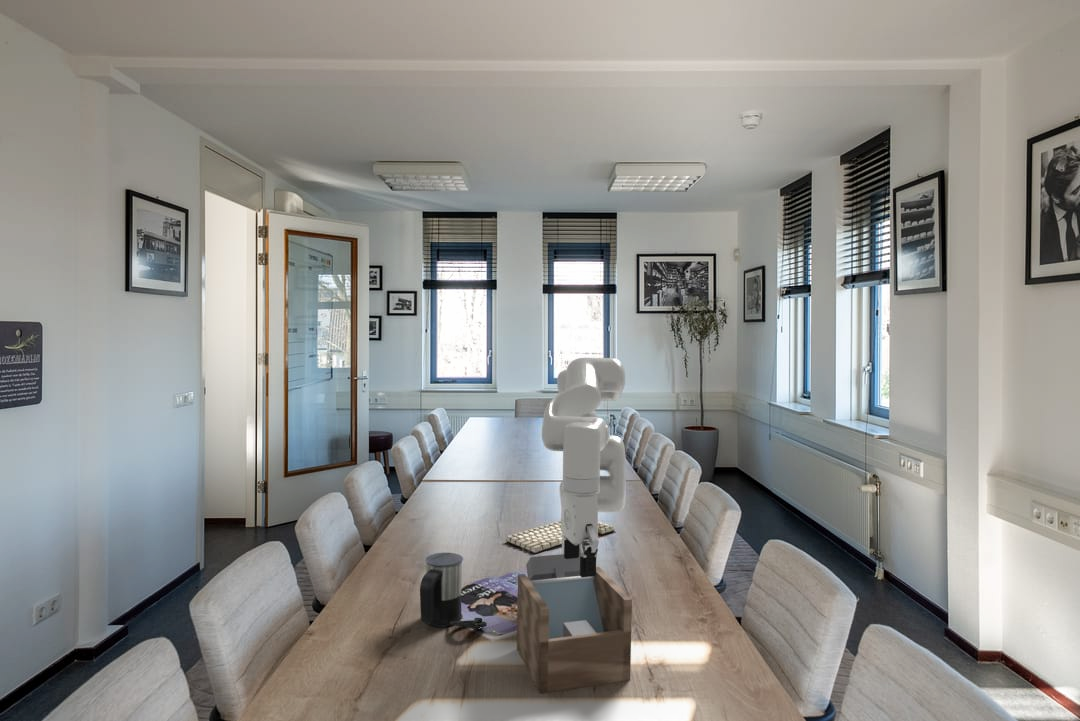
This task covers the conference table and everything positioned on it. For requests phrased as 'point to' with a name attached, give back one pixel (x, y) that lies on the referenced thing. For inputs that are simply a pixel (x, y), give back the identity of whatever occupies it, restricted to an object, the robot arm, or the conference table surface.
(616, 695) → the conference table surface
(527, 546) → the mechanical keyboard
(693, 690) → the conference table surface
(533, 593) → the stand
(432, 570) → the milk frother
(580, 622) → the grey cube-like block
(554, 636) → the trapdoor
